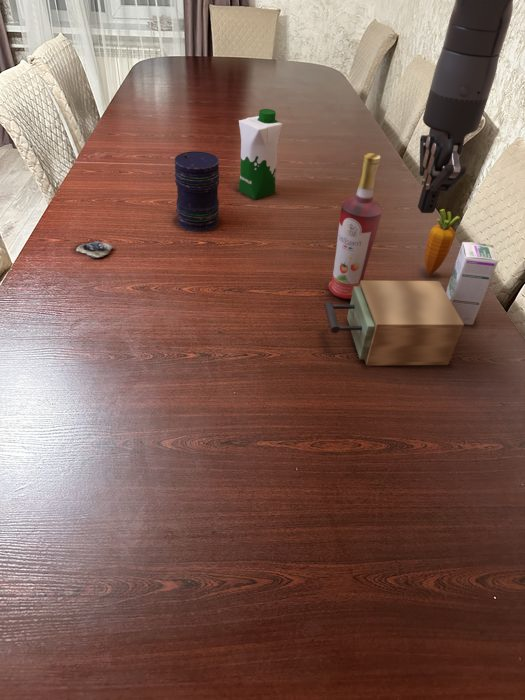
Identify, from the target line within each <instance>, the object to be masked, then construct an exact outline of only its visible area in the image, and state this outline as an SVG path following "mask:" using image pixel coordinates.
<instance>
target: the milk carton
mask: <svg viewBox="0 0 525 700" xmlns="http://www.w3.org/2000/svg"><path fill="white" fill-rule="evenodd" d="M276 115H277V114H276V110H273V109H270V108H262V109H260V110H259V111H258V115H256V116H250V117H246V118H243V119H240V120H238V125H239V133H240V166H239V168H240V169H239V170H240V171H239V180H238V186H237V187H238V188H237V190H238V191H239V192H241V193H242V194H244V195H246V196H248V197H249V198H251V199H253V200H254V201H256V200H259V199H262V198H265V197H268V196H271V195H274V194H276V175H277V174H276V171H277V162H278V161H277V160H278V147H279V140H280V136H281V131H282V128H283V123H282V122H280V121H278V120H276Z"/></svg>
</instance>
